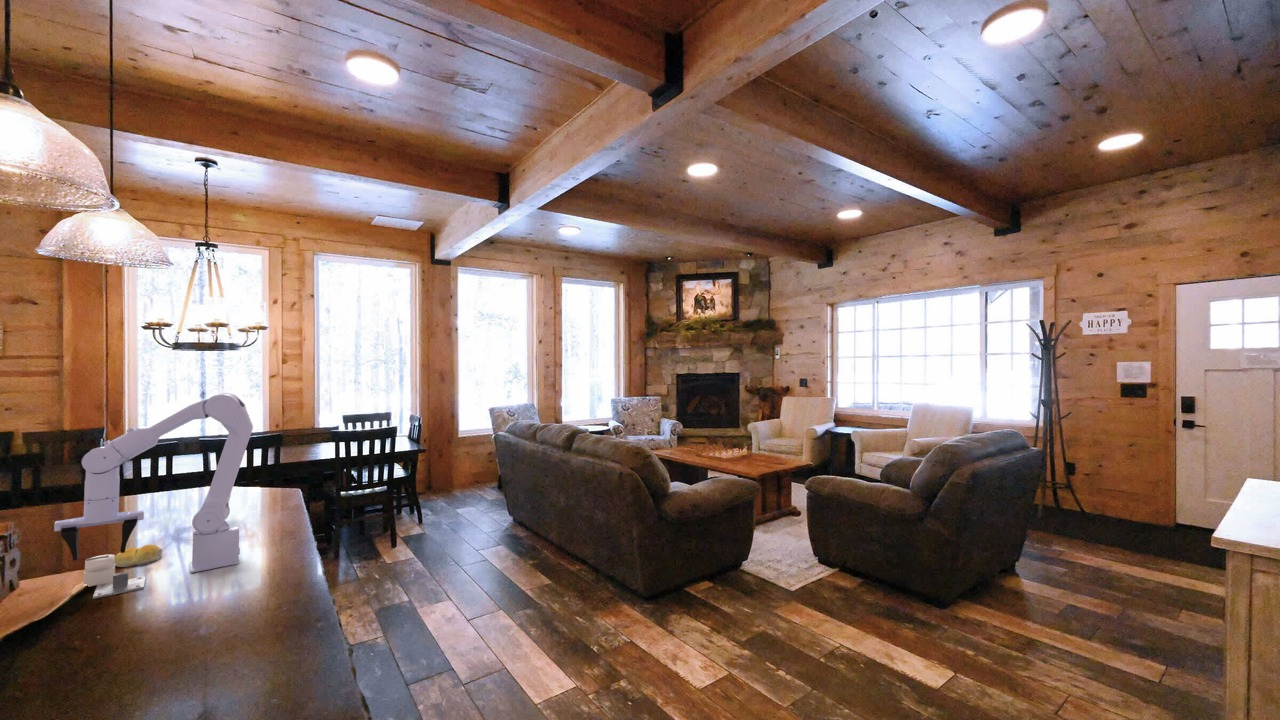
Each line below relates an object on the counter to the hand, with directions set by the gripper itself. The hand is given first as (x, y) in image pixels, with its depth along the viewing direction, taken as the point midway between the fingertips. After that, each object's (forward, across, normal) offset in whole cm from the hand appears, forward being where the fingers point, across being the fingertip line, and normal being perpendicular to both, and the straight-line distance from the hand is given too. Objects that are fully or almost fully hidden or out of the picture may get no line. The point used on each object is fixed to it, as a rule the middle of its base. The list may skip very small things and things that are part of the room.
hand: (99, 555), depth 121 cm
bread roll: (+7, -6, -12) cm, 15 cm away
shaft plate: (+6, -4, +8) cm, 11 cm away
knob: (+6, 0, 0) cm, 6 cm away
